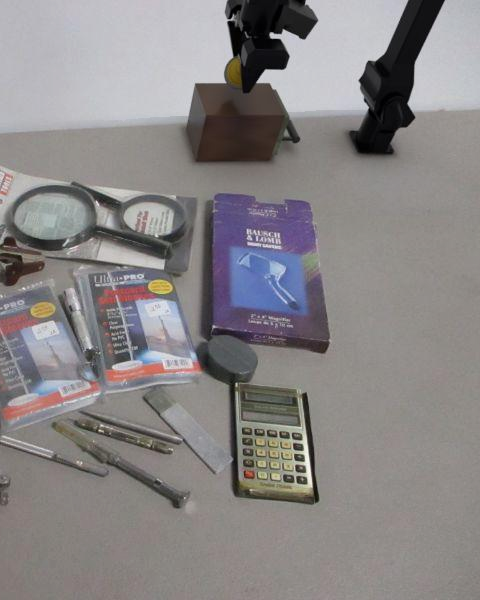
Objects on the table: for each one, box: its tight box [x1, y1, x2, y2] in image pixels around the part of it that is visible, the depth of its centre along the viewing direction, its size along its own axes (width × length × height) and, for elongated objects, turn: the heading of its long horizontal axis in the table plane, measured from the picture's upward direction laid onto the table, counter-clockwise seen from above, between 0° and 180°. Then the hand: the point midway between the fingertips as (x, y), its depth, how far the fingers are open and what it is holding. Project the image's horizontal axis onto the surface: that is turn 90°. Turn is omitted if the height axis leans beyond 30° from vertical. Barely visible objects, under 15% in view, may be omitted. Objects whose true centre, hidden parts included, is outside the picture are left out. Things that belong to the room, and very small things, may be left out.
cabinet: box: [185, 82, 285, 163], centre depth 104 cm, size 13×10×9 cm
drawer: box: [272, 88, 301, 156], centre depth 105 cm, size 16×9×8 cm, turn 93°
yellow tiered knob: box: [223, 56, 242, 90], centre depth 96 cm, size 5×5×10 cm
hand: (242, 82), depth 98 cm, fingers closed on yellow tiered knob, 6 cm apart
